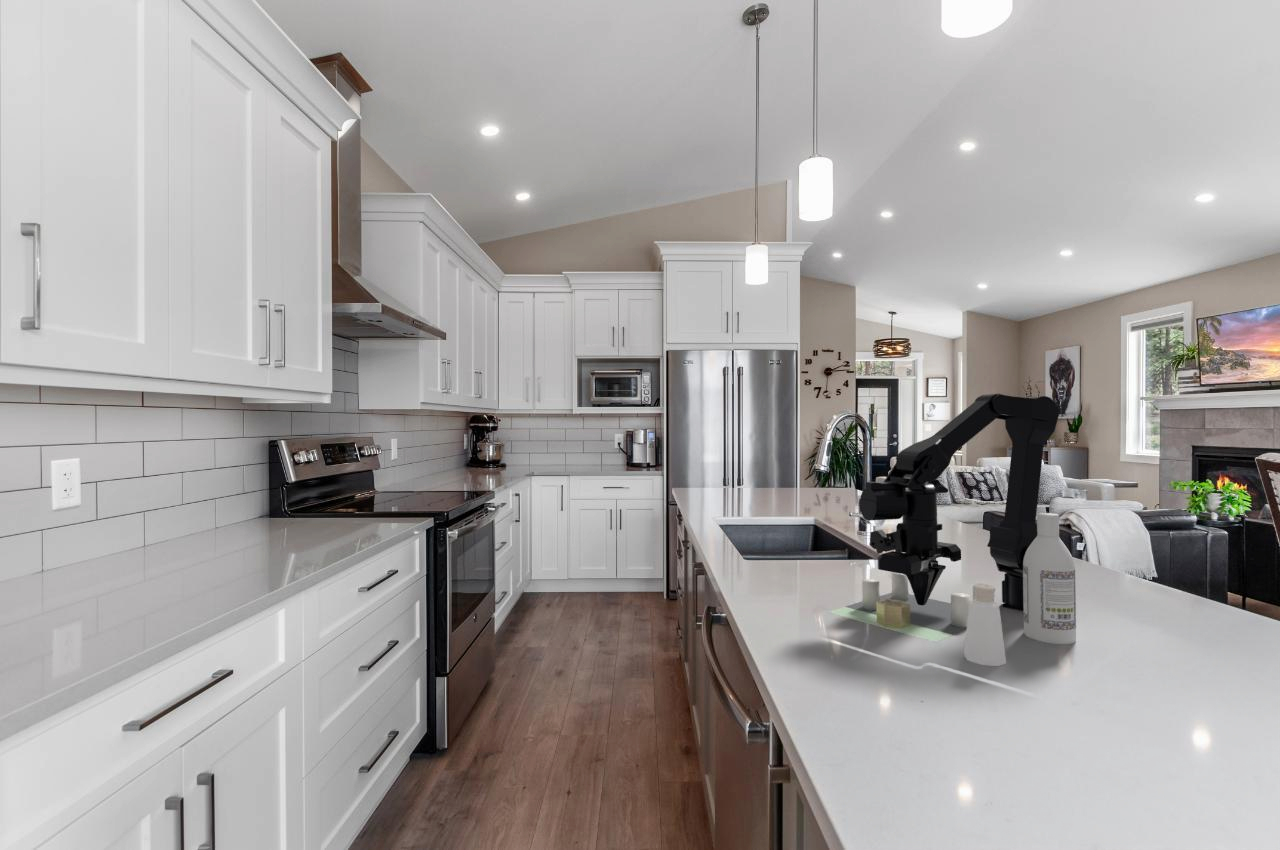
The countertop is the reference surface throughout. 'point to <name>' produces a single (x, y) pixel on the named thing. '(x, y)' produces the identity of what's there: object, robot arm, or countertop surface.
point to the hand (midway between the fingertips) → (921, 604)
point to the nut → (893, 613)
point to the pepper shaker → (984, 629)
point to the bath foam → (1049, 586)
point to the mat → (911, 618)
